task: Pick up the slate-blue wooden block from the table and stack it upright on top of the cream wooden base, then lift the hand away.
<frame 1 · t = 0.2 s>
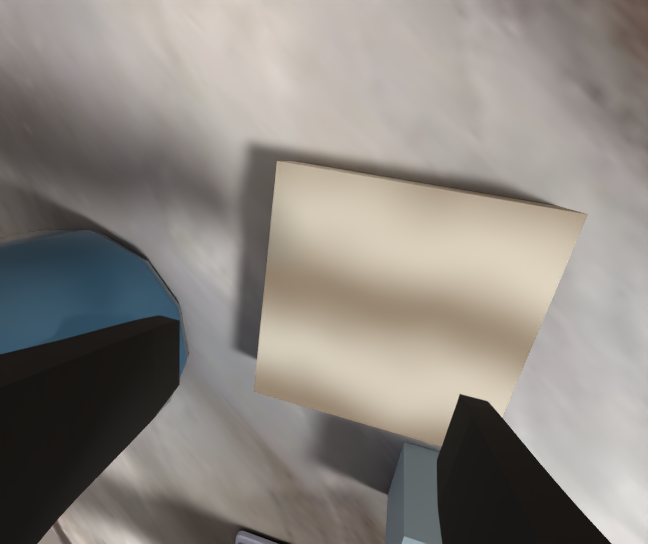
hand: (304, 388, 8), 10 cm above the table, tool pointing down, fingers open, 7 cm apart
block: (432, 480, 21), on the table
plinth: (390, 299, 18), on the table
wine bottle: (108, 319, 23), on the table
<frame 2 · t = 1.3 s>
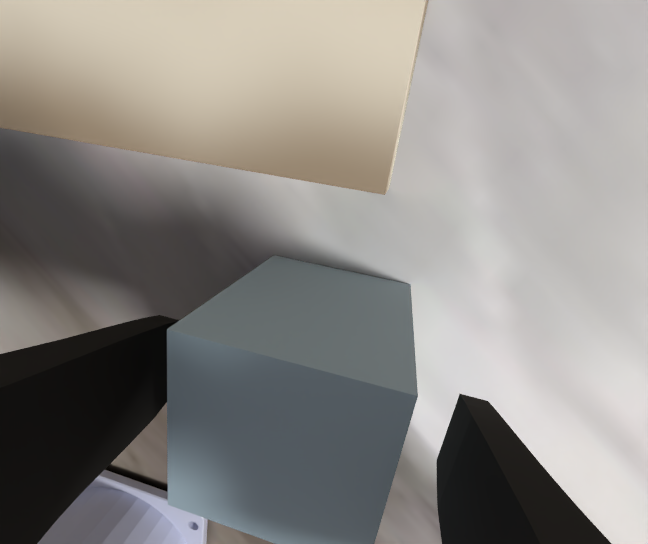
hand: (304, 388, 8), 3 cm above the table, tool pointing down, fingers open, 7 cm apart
block: (329, 330, 12), on the table
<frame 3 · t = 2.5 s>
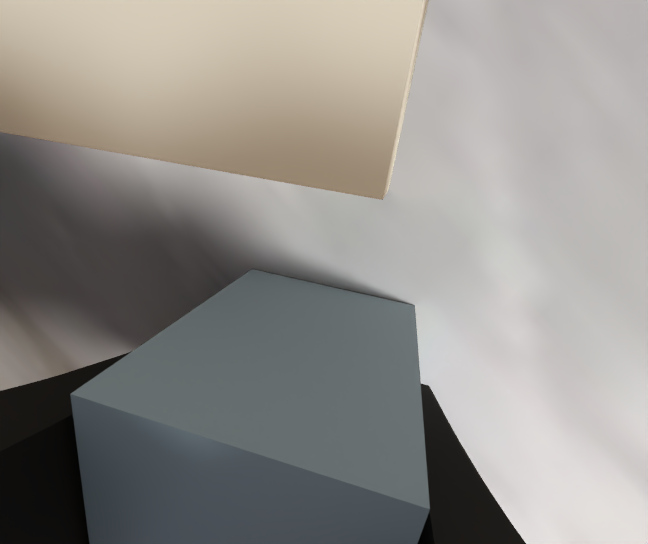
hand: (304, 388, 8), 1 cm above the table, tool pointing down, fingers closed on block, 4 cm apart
block: (318, 357, 10), on the table, touching gripper
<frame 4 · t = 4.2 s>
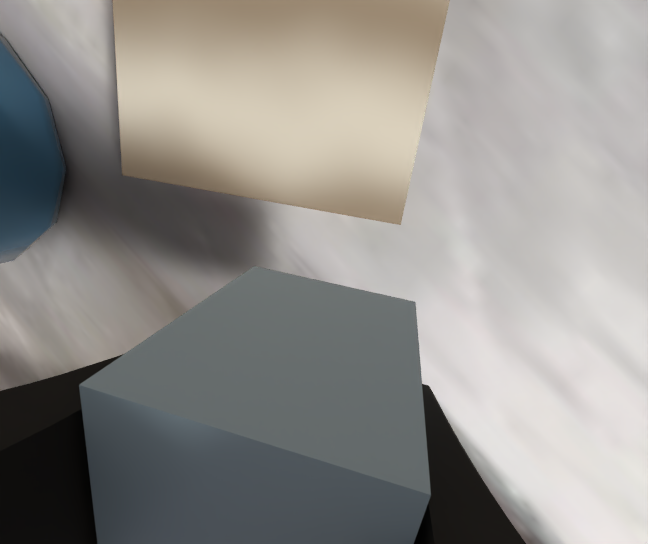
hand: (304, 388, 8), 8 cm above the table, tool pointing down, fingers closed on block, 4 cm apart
block: (319, 353, 10), point 7 cm above the table, touching gripper
plinth: (286, 46, 14), on the table
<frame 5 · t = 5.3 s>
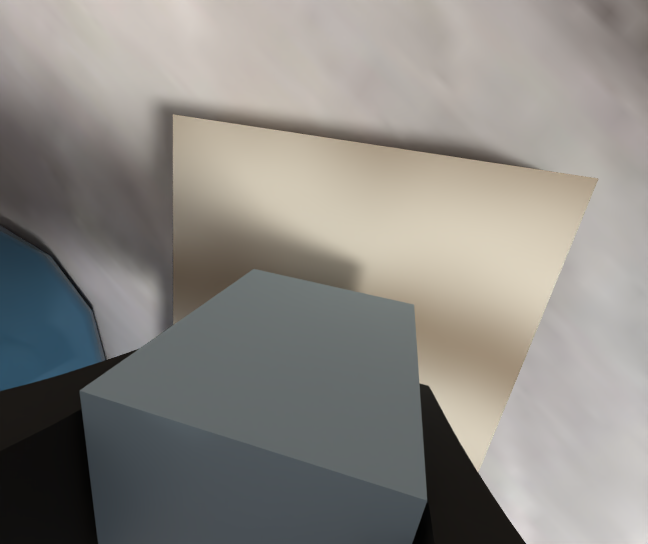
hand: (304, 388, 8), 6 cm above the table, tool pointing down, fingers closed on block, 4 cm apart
block: (319, 356, 10), point 4 cm above the table, touching gripper
plinth: (343, 302, 14), on the table
wine bottle: (17, 327, 19), on the table
when the fingers open (5 cm above the table, at t = 6.2 s): block drops 1 cm, resting on plinth.
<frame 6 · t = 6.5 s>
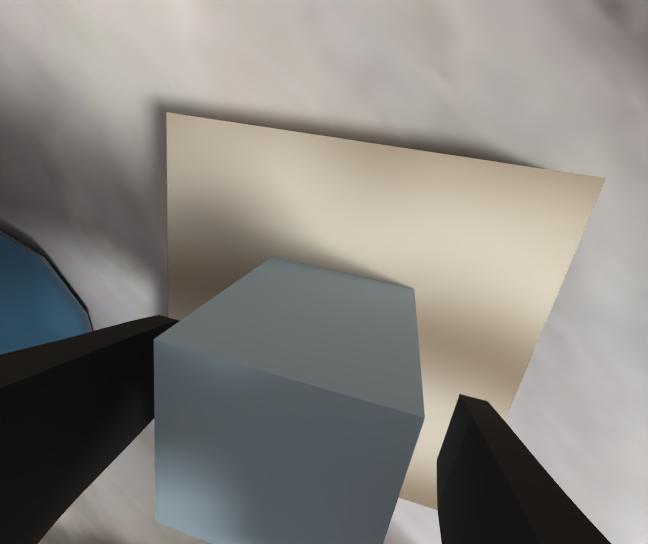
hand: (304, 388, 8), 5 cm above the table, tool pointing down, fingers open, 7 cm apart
block: (329, 334, 11), point 2 cm above the table, touching plinth
plinth: (341, 304, 13), on the table
wine bottle: (11, 329, 19), on the table
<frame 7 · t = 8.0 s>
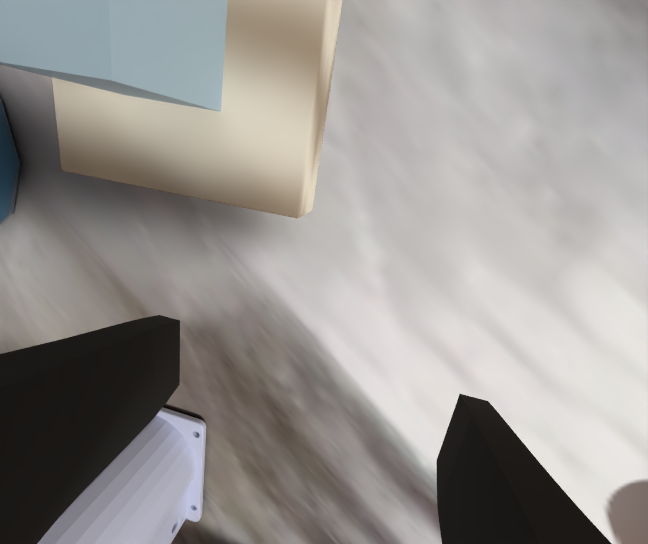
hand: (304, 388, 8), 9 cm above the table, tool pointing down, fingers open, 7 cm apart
block: (172, 40, 13), point 2 cm above the table, touching plinth
plinth: (206, 58, 16), on the table
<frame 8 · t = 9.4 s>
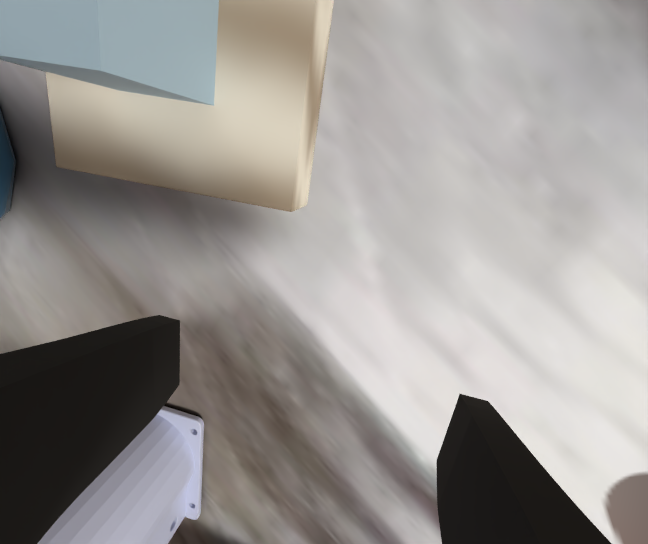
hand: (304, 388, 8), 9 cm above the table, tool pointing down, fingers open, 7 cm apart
block: (165, 35, 13), point 2 cm above the table, touching plinth
plinth: (200, 53, 16), on the table
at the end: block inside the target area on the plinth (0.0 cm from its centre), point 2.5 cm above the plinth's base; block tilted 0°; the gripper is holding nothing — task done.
